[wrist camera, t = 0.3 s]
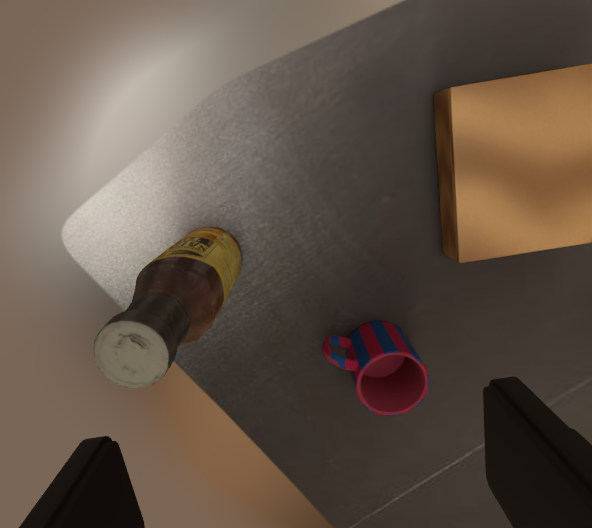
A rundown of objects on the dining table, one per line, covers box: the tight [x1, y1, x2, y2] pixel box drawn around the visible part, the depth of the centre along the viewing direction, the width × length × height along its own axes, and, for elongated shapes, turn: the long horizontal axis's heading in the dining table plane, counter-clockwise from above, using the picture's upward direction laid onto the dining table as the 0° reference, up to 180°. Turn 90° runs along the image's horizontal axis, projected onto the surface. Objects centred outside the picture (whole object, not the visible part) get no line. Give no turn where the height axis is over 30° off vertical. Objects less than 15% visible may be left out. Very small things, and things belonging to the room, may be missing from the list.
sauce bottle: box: [94, 227, 242, 388], centre depth 30 cm, size 6×6×20 cm
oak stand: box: [433, 64, 592, 263], centre depth 36 cm, size 15×12×4 cm
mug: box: [322, 321, 429, 416], centre depth 39 cm, size 7×10×7 cm
